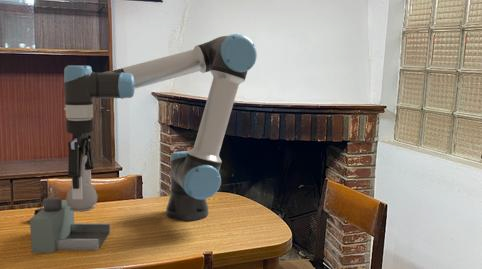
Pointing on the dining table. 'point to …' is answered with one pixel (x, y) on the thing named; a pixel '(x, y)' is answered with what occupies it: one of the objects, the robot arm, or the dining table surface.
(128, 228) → the dining table surface
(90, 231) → the side bay
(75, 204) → the potion bottle
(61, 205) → the housing
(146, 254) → the dining table surface
